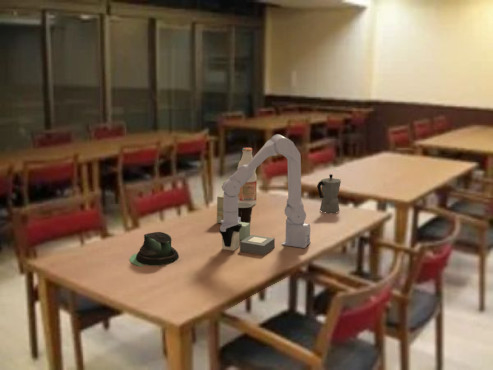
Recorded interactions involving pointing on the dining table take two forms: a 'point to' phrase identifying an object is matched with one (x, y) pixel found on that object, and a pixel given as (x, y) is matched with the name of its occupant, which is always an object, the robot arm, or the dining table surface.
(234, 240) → the cream block
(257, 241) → the charcoal base block
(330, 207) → the coffeepot
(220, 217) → the skincare box
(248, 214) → the coffee mug
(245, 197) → the fruit juice
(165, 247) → the dark fedora hat
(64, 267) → the dining table surface
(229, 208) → the robot arm
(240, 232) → the sage green block
